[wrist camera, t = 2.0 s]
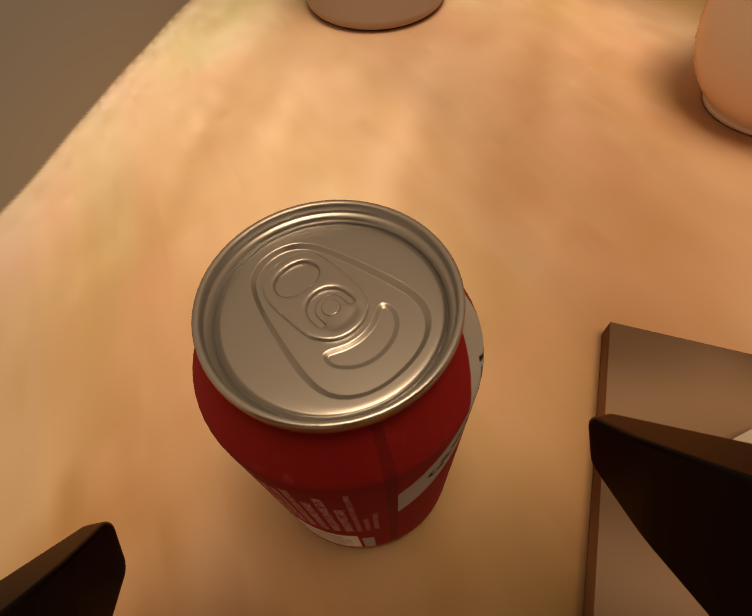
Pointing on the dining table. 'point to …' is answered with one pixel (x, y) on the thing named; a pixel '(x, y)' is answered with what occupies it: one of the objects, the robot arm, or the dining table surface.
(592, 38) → the dining table surface
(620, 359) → the walnut serving board
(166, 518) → the dining table surface
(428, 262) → the soda can
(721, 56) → the lidded bowl
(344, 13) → the cylinder vase
